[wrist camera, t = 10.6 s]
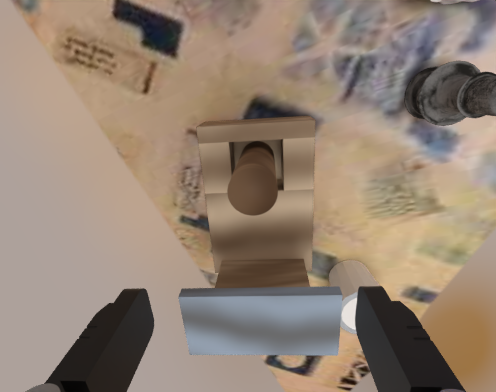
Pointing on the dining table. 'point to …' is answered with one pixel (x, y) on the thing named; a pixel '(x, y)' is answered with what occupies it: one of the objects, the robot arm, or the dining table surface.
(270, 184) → the peg
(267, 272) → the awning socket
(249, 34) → the dining table surface
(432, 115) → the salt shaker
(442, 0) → the bust
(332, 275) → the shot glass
